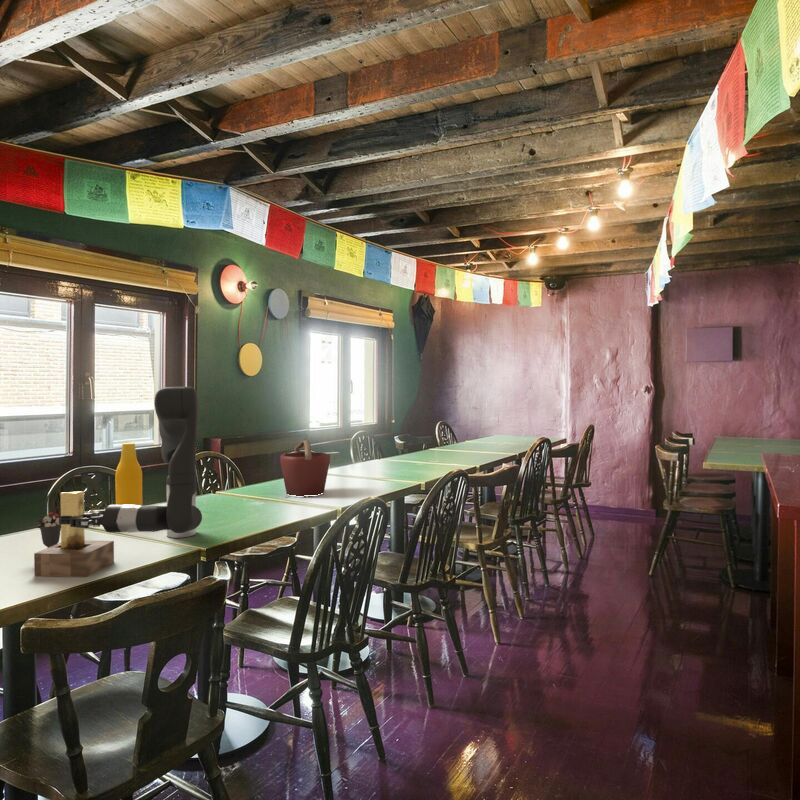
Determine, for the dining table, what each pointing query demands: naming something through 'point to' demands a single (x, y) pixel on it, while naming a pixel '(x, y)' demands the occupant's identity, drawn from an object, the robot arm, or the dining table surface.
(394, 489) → the dining table surface
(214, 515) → the dining table surface
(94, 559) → the walnut socket block
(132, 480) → the beer bottle
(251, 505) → the dining table surface
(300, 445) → the bucket
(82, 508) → the brass peg
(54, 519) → the sundae
